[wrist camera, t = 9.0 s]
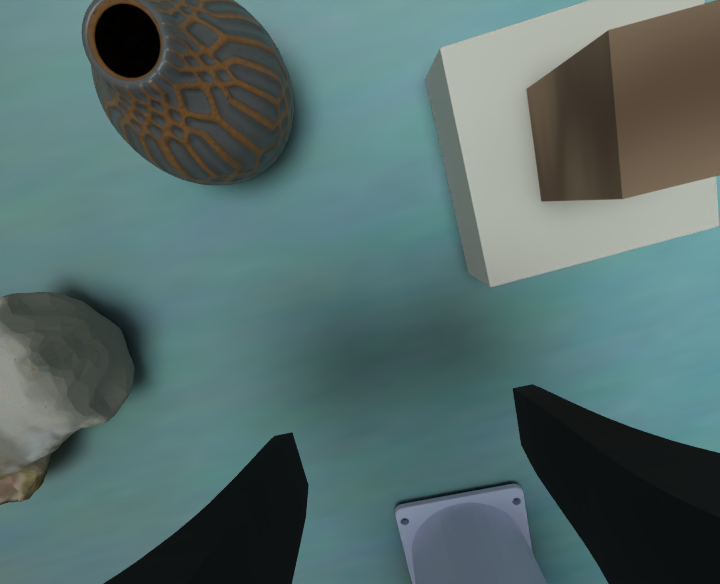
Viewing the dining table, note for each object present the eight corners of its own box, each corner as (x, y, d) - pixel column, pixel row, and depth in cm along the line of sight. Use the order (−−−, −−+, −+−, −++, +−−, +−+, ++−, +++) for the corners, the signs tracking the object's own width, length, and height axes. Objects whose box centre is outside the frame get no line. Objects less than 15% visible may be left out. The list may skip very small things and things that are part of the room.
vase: (309, 48, 18) (258, -103, 9) (300, 195, 19) (248, 186, 11) (166, 32, 17) (-23, -136, 9) (168, 181, 19) (9, 160, 10)
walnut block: (648, 174, 15) (782, 159, 10) (541, 201, 16) (622, 198, 11) (640, 58, 14) (784, -19, 9) (526, 88, 15) (608, 29, 10)
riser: (648, 222, 20) (719, 225, 16) (466, 272, 20) (490, 287, 16) (626, 18, 18) (701, -36, 14) (423, 82, 18) (440, 48, 14)
